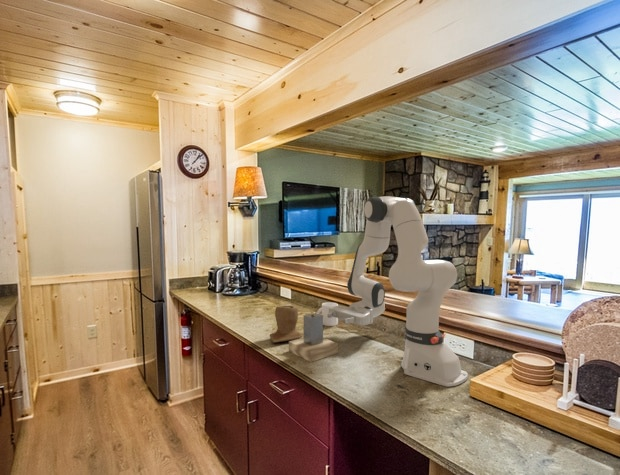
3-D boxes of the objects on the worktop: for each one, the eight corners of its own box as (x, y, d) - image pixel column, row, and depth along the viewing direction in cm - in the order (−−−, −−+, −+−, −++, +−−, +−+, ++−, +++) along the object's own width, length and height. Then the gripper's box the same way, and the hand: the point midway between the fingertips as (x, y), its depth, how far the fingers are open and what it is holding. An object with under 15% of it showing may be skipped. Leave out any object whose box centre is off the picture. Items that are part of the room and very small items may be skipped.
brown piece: (293, 332, 165) (293, 301, 164) (305, 340, 155) (305, 306, 154) (263, 337, 158) (263, 305, 157) (274, 346, 147) (273, 311, 147)
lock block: (323, 342, 140) (323, 312, 140) (311, 345, 137) (311, 315, 136) (314, 339, 144) (315, 310, 144) (303, 342, 141) (303, 312, 140)
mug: (320, 328, 171) (320, 307, 171) (312, 323, 179) (312, 304, 178) (341, 325, 177) (341, 305, 176) (332, 320, 184) (332, 301, 183)
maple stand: (337, 353, 140) (337, 343, 140) (310, 362, 131) (310, 351, 131) (315, 343, 151) (315, 334, 150) (288, 351, 142) (288, 341, 142)
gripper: (341, 300, 164) (319, 306, 155) (375, 310, 149) (354, 316, 140) (341, 314, 164) (319, 320, 155) (375, 324, 149) (354, 332, 140)
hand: (336, 318), depth 147 cm, fingers open, 8 cm apart
